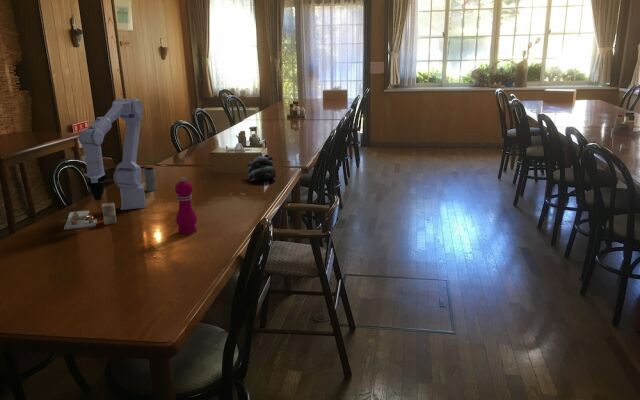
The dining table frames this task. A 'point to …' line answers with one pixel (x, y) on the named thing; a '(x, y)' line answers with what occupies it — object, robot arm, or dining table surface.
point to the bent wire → (80, 218)
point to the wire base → (79, 224)
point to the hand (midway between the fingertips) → (99, 197)
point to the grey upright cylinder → (150, 179)
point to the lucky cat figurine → (261, 168)
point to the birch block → (109, 213)
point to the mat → (79, 213)
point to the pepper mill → (185, 208)
